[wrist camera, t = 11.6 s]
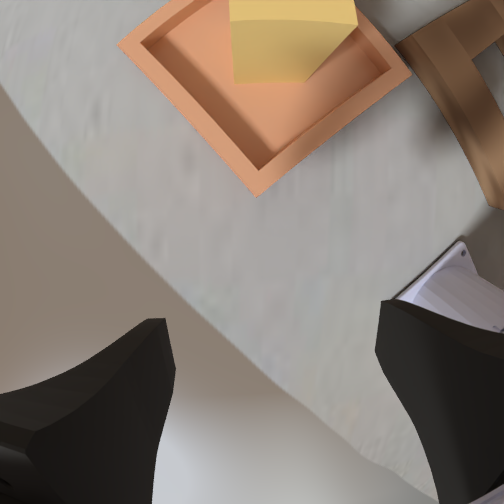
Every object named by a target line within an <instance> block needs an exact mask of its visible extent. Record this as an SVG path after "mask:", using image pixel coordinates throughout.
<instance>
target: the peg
mask: <svg viewBox="0 0 504 504" xmlns="http://www.w3.org/2000/svg"><path fill="white" fill-rule="evenodd" d="M229 12H230V29H231V45H232V60H233V74H234V84H250V83H305V81H306V80H307V79H308V78H309V77H310V76H311V75H312V74H313V73H314V71H315V70H316V69H317V68H318V67H319V66H320V65H321V64H322V63H323V62H324V61H325V59H326V58H327V57H328V56H329V55H330V54H331V53H332V52H333V51H334V50H335V49H336V48H337V47H338V46H339V45H340V43H341V42H342V41H343V40H344V39H345V38H346V37H347V36H348V35H349V34H350V33H351V32H352V31H353V30H354V29H355V28H356V27H357V26H358V21H357V15H356V9H355V4H354V0H229Z"/></svg>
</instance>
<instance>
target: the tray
mask: <svg viewBox="0 0 504 504" xmlns="http://www.w3.org/2000/svg"><path fill="white" fill-rule="evenodd" d="M355 9H356V15H357V21H358V26H357V27H356V28H355V29H354V30H353V31H352V32H351V33H350V34H349V35H348V36H347V37H346V38H345V39H344V40H343V41H342V42H341V43H340V45H339V46H338V47H337V48H336V49H335V50H334V51H333V52H332V53H331V54H330V55H329V56H328V57H327V58H326V59H325V61H324V62H323V63H322V64H321V65H320V66H319V67H318V68H317V69H316V70H315V71H314V73H313V74H312V75H311V76H310V77H309V78H308V79H307V80H306V81H305V83H250V84H234V74H233V60H232V45H231V29H230V12H229V0H171V1H169V2H168V3H167V4H165V5H164V6H163V7H161V8H160V9H159V10H157V11H156V12H155V13H154V14H152V15H151V16H150V17H148V18H147V19H146V20H145V21H144V22H142V23H141V24H140V25H139V26H137V27H136V28H135V29H134V30H133V31H132V32H130V33H129V34H128V35H127V36H126V37H125V38H123V39H122V40H121V41H120V42H119V43H118V44H117V46H118V47H119V48H120V49H121V50H122V51H123V52H124V53H125V54H126V55H127V56H128V57H129V58H130V59H131V60H132V61H133V62H134V63H135V64H136V66H137V67H138V68H139V69H140V70H141V71H142V72H143V73H144V74H145V75H146V76H147V77H148V78H149V79H150V80H151V81H152V82H153V83H154V84H155V86H156V87H157V88H158V89H159V90H160V91H161V92H162V93H163V94H164V95H165V96H166V97H167V98H168V99H169V101H170V102H171V103H172V104H173V105H174V106H175V107H176V108H177V109H178V110H179V111H180V113H181V114H182V115H183V116H184V117H185V118H186V119H187V120H188V121H189V122H190V123H191V125H192V126H193V127H194V128H195V129H196V130H197V131H198V132H199V133H200V135H201V136H202V137H203V138H204V139H205V140H206V141H207V142H208V143H209V145H210V146H211V147H212V148H213V149H214V150H215V151H216V152H217V154H218V155H219V156H220V157H221V158H222V159H223V160H224V161H225V163H226V164H227V165H228V166H229V167H230V168H231V169H232V171H233V172H234V173H235V174H236V175H237V176H238V177H239V179H240V180H241V181H242V182H243V183H244V184H245V185H246V187H247V188H248V189H249V190H250V191H251V192H252V194H253V195H254V196H255V197H256V198H257V197H258V196H259V195H260V194H261V193H263V192H264V191H265V190H266V189H267V188H269V187H270V186H271V185H272V184H273V183H275V182H276V181H277V180H278V179H280V178H281V177H282V176H283V175H284V174H286V173H287V172H288V171H289V170H291V169H292V168H293V167H294V166H295V165H297V164H298V163H299V162H300V161H302V160H303V159H304V158H305V157H307V156H308V155H309V154H310V153H311V152H313V151H314V150H315V149H316V148H318V147H319V146H320V145H321V144H323V143H324V142H325V141H326V140H328V139H329V138H330V137H332V136H333V135H334V134H335V133H337V132H338V131H339V130H340V129H342V128H343V127H344V126H345V125H347V124H348V123H349V122H351V121H352V120H353V119H354V118H356V117H357V116H358V115H360V114H361V113H362V112H364V111H365V110H366V109H367V108H369V107H370V106H371V105H373V104H374V103H375V102H377V101H378V100H379V99H380V98H382V97H383V96H384V95H386V94H387V93H388V92H390V91H391V90H392V89H394V88H395V87H396V86H398V85H399V84H400V83H402V82H403V81H404V80H406V79H407V78H409V77H410V76H411V75H412V73H411V72H410V71H409V69H408V68H407V67H406V65H405V64H404V63H403V61H402V60H401V59H400V57H399V56H398V55H397V53H396V52H395V51H394V50H393V48H392V47H391V46H390V45H389V43H388V42H387V41H386V40H385V39H384V37H383V36H382V35H381V34H380V33H379V31H378V30H377V29H376V28H375V27H374V26H373V25H372V23H371V22H370V21H369V20H368V19H367V18H366V17H365V16H364V15H363V14H362V12H361V11H360V10H359V9H358V8H357V7H356V6H355Z"/></svg>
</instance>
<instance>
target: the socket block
mask: <svg viewBox="0 0 504 504" xmlns="http://www.w3.org/2000/svg"><path fill="white" fill-rule="evenodd" d="M493 42H496V44H497V46H498V47H499V49H500V51H501V52H502V54H503V56H504V0H469V1H467V2H466V3H464V4H462V5H460V6H458V7H457V8H455V9H453V10H451V11H450V12H448V13H446V14H445V15H443V16H441V17H439V18H438V19H436V20H434V21H433V22H431V23H429V24H428V25H426V26H425V27H423V28H421V29H420V30H418V31H416V32H415V33H413V34H412V35H410V36H409V37H407V38H405V39H404V40H402V41H401V42H399V43H398V44H396V45H395V47H396V48H397V49H398V50H399V52H400V53H401V54H402V56H403V57H404V58H405V60H406V61H407V62H408V64H409V65H410V66H411V68H412V69H413V70H414V72H415V73H416V75H417V76H418V77H419V79H420V80H421V82H422V83H423V85H424V86H425V87H426V89H427V90H428V92H429V93H430V95H431V96H432V98H433V100H434V101H435V103H436V104H437V106H438V107H439V109H440V111H441V112H442V114H443V116H444V117H445V119H446V121H447V122H448V124H449V126H450V127H451V129H452V131H453V133H454V134H455V136H456V138H457V140H458V142H459V143H460V145H461V147H462V149H463V151H464V153H465V155H466V157H467V159H468V161H469V163H470V165H471V167H472V169H473V171H474V173H475V175H476V177H477V179H478V182H479V184H480V186H481V188H482V190H483V193H484V195H485V197H486V200H487V202H488V204H489V206H492V207H495V208H499V209H502V210H504V117H503V115H502V113H501V111H500V109H499V107H498V105H497V103H496V101H495V100H494V98H493V96H492V94H491V92H490V90H489V89H488V87H487V85H486V83H485V81H484V80H483V78H482V76H481V75H480V73H479V71H478V70H477V68H476V66H475V65H474V63H473V62H472V59H473V58H474V57H476V56H477V55H478V54H479V53H481V52H482V51H483V50H485V49H486V48H487V47H488V46H490V45H491V44H492V43H493Z"/></svg>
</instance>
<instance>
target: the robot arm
mask: <svg viewBox="0 0 504 504" xmlns="http://www.w3.org/2000/svg"><path fill="white" fill-rule="evenodd" d="M462 251H463V254H462V255H461V253H462ZM375 353H376V356H377V358H378V361H379V363H380V366H381V368H382V370H383V373H384V374H385V376H386V378H387V380H388V381H389V383H390V385H391V386H392V388H393V390H394V391H395V393H396V395H397V396H398V398H399V400H400V401H401V403H402V405H403V406H404V408H405V410H406V411H407V413H408V415H409V416H410V418H411V420H412V422H413V424H414V426H415V428H416V430H417V433H418V435H419V438H420V440H421V443H422V445H423V448H424V451H425V454H426V456H427V459H428V462H429V465H430V468H431V472H432V475H433V479H434V483H435V486H436V490H437V494H438V499H439V504H504V291H503V290H501V289H500V288H498V287H496V286H495V285H493V284H492V283H490V282H488V281H487V280H485V279H483V278H482V277H480V276H479V275H478V273H477V270H476V268H475V265H474V263H473V261H472V258H471V256H470V254H469V251H468V249H467V247H466V244H465V243H464V242H462V241H458V242H456V243H455V244H454V245H453V246H452V247H451V248H450V249H449V250H448V251H447V252H446V253H445V254H444V255H443V256H442V257H441V258H440V259H439V260H438V261H437V262H436V263H435V264H434V265H433V266H431V267H430V268H429V269H428V270H427V271H426V272H425V273H424V274H423V275H422V276H421V277H419V278H418V279H417V280H416V281H415V282H414V283H413V284H412V285H410V286H409V287H408V288H407V289H406V290H405V291H404V292H402V293H401V294H400V295H399V296H398V297H397V298H395V299H392V300H385V301H381V308H380V316H379V324H378V332H377V339H376V345H375ZM175 371H176V367H175V363H174V358H173V354H172V349H171V344H170V339H169V334H168V329H167V325H166V319H165V318H156V319H155V318H154V319H146V320H144V321H143V322H141V323H140V324H139V325H137V326H136V327H134V328H133V329H131V330H130V331H129V332H127V333H126V334H125V335H123V336H122V337H121V338H119V339H118V340H116V341H115V342H114V343H112V344H111V345H109V346H108V347H106V348H105V349H103V350H102V351H100V352H99V353H97V354H96V355H94V356H93V357H91V358H90V359H88V360H86V361H85V362H83V363H81V364H79V365H78V366H76V367H74V368H72V369H70V370H68V371H66V372H64V373H62V374H60V375H57V376H55V377H52V378H50V379H48V380H45V381H43V382H40V383H38V384H35V385H32V386H29V387H25V388H22V389H19V390H15V391H11V392H7V393H3V394H0V504H152V493H153V481H154V471H155V464H156V456H157V450H158V446H159V442H160V438H161V434H162V431H163V427H164V423H165V420H166V416H167V412H168V409H169V405H170V401H171V398H172V394H173V387H174V380H175V379H174V378H175Z"/></svg>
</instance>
